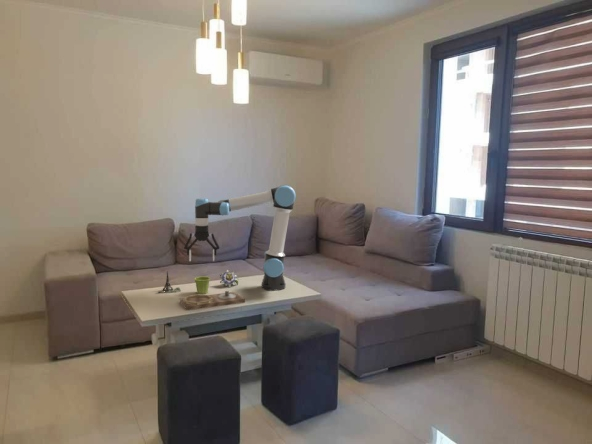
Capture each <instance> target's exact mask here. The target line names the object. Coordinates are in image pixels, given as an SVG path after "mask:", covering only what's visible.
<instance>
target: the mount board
mask: <svg viewBox="0 0 592 444" xmlns="http://www.w3.org/2000/svg"><path fill="white" fill-rule="evenodd" d="M245 302H246V299H245V297H243V296H241V295H240V294H239V293H237V292H235V291H231V292H229V290H226V291H224V292H222V293H215V294H204V293H203V294H198V293H197V294H191V295H190V294H189V295H187V296H185V297H183V298H179V303H180V304H181V305H182V306H183V307H184V308H185V309H186V310H187V311H192V310H197V309H206V308H213V307H221V306H227V305H235V304H242V303H245Z"/></svg>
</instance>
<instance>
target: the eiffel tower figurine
mask: <svg viewBox="0 0 592 444" xmlns="http://www.w3.org/2000/svg"><path fill="white" fill-rule="evenodd" d="M164 291H165V292H164ZM161 292H164V293H163V294H167V293H179V292H182V290H181V288H180V287H175V288H173V287H172V284H171V283H170V280H169V271H168V270H167V271H166V281H165V285H164V286H163V288H162V289H161Z"/></svg>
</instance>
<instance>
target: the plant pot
mask: <svg viewBox="0 0 592 444" xmlns="http://www.w3.org/2000/svg"><path fill="white" fill-rule="evenodd" d="M193 281H194V283H195V287H196V293H197V294H203V295H204V294H208V292H209V287H210V281H211V277H209V276H197V277H196V276H195V278H194V280H193Z"/></svg>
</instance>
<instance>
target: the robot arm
mask: <svg viewBox="0 0 592 444" xmlns="http://www.w3.org/2000/svg"><path fill="white" fill-rule="evenodd" d="M295 191H296V190H294V188H292V186H290V185H287V184H282V185H280V186H277V187H274V188H270V189H269V190H267V191H263V192H262V191H261V192H258V193H253V194H252V193H251V194H249V195H243V196H237V197H232V198H229V199H221V200H219V201H216V202H215V201H214V202H212V201H209V199H208V198H202V197H201V198H196V199H195V204H194V205H195V206H194V208H195V209H194V210H195V212H194V214H195V215H194V217H195V218H194V224H195V225H194V226H195V229H194V231H195V232H194V233H192V232H190V233H189V238H188V239H187V241H186V243H185V244H184V246H183V249H184V250H186V251H187V252H186V253H187V256H189V257H188V261H189V262H191V261H192V249H191V248H192V247H193V246H194V245H195V244H196V243H197V242H201V241H202V242H207V243H208V244H209V245H210V247H211V248H212V262H215V256H217V250H219V249H220V245H219V244H218V242H217V239H216V238H215V233H214V232H211V233H209V216H228V215H229V214H230V212H234V211H235V212H236V211H240V210H243V209H249V208H254V207H259V206H263V205H264V206H265V205H269V204H272V205H273V206H272V207H273V209H274V215H273V223H272V229H271V233H270V241H269V247H268V250H266V251H264V255H263V257H264V263H263V268H262V269H263V272H264V275H263V279H262V281H261V289H264V290H266V289H267V290H269V291H279V289H281V290H284V289H285V288H286V286H287V285H286V281H285V277H284V269H285V267H284V266H285V261H286V260H285V259H286V254H285V251H284V250H285V243H286V237H287V230H288V225H289V219H290V213H291V212H292V211H293V210H294V205H295V201H296V197H297V195H296V192H295ZM193 237H195V239H194V240H193V241H192V242H191V240H192V238H193ZM209 237H210V238H211V239H212V241H213V242H214V243H213V242H212V241H211V240H210V239H209ZM190 242H191V243H190ZM189 243H190V244H189ZM283 288H284V289H283Z"/></svg>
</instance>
